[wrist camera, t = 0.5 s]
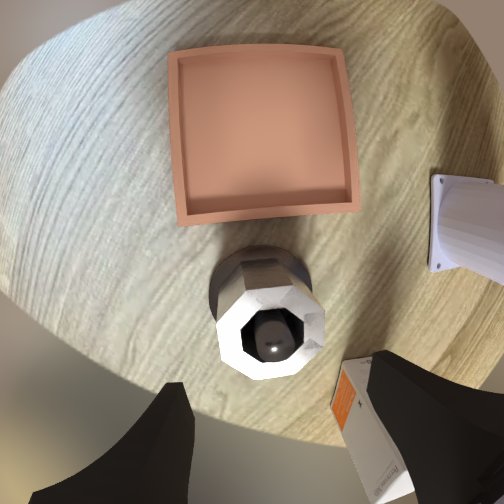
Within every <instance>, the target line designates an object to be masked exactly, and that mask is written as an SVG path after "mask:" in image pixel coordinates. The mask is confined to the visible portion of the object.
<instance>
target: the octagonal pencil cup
mask: <svg viewBox="0 0 504 504" xmlns="http://www.w3.org/2000/svg"><path fill="white" fill-rule="evenodd" d="M276 308H282V309H281V311H282V313H283V316H284V318H285V320H286V323H287V325H288V328H289V330H290V332H291V335H292V337H293V339H294V342H295V348H294V351H293V353H292V355H291V356H290V357H289V358H287V359H286V360H284V361H281V362H277V363H270V362H267V361H264V360H263V359H262V358H260V356H259V355H258V352H257V346H256V341H255V335H254V330H253V324H252V319H251V317H252V316H253V315H254V314H255V313H256V312H257V311H259V310H268V309H276ZM216 325H217V331H218V337H219V344H220V350H221V356H222V360H223V361H224V362H226V363H228V364H229V365H231V366H232V367H234V368H236V369H237V370H239V371H241V372H243V373H244V374H246V375H248V376H249V377H251V378H253V379H255V380H256V379H264V378H272V377H279V376H286V375H293V374H296V373H297V372H298V371H299V370H300V369H301V368H302V367H303V366H304V365H305V364H306V363H307V362H309V361H310V360H311V359H312V358H313V357H314V356H315V355H316V354H317V353H318V352H319V351H320V350H321V349H322V348H323V347H324V326H325V310H324V309H323V307H322V306H321V305H320V303H319V302H318V300H317V299H316V298H315V296H314V295H313V294H312V292H311V291H310V290H309V288H308V287H307V286H306V285H305V283H304V282H303V281H302V279H301V278H300V277H299V276H298V275H296V274H295V273H294V272H293V271H292V270H290V269H289V268H288V267H287V266H286V265H284V264H283V263H282V262H281V261H280V260H278V259H277V258H268V259H258V260H248V261H241V262H240V263H239V264H238V265H237V267H236V268H235V269H234V270H233V271H232V272H231V274H230V275H229V276H228V277H227V278H226V279H225V281H224V282H223V283H222V284H221V285H220V286H219V295H218V308H217V322H216Z"/></svg>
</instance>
